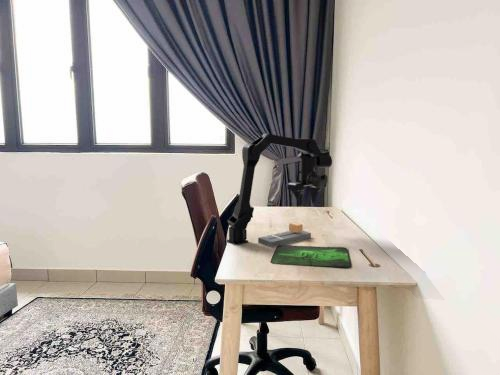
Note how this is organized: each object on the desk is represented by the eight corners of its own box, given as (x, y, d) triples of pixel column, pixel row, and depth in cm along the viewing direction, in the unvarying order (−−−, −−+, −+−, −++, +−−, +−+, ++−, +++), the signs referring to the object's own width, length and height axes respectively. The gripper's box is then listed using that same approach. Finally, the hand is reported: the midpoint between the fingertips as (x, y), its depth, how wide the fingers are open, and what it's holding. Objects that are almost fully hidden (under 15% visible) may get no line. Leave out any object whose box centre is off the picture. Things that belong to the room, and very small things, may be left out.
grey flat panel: (271, 247, 146) (271, 241, 146) (258, 242, 153) (258, 237, 152) (310, 237, 160) (310, 232, 159) (297, 233, 166) (297, 228, 166)
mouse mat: (268, 265, 128) (268, 262, 128) (276, 246, 149) (276, 243, 149) (352, 270, 123) (352, 267, 123) (347, 249, 144) (347, 246, 144)
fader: (297, 233, 157) (297, 225, 156) (288, 231, 160) (289, 223, 160) (302, 232, 158) (302, 224, 158) (294, 230, 162) (294, 222, 162)
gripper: (306, 171, 148) (306, 210, 150) (336, 168, 160) (335, 204, 162) (286, 169, 157) (286, 206, 159) (316, 166, 168) (316, 201, 171)
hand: (307, 204), depth 162 cm, fingers open, 8 cm apart
